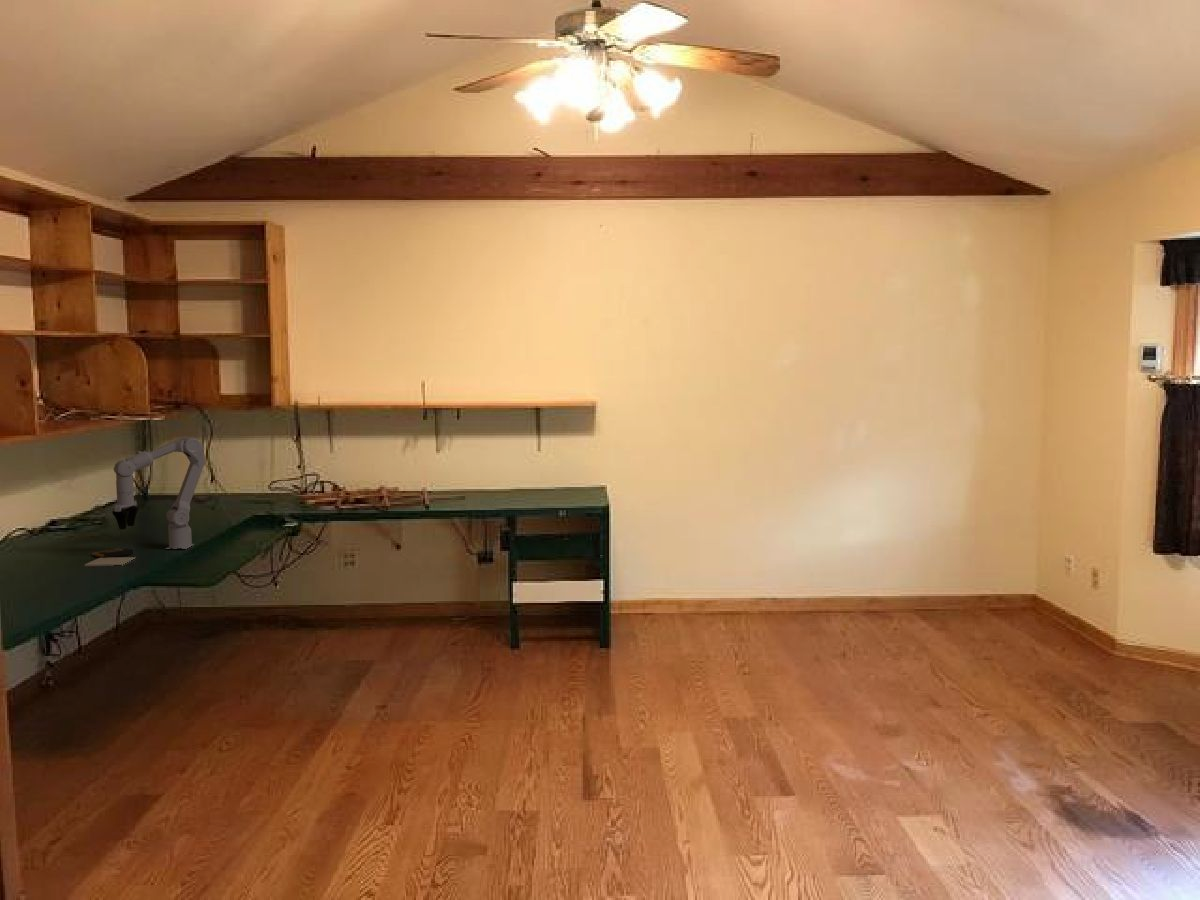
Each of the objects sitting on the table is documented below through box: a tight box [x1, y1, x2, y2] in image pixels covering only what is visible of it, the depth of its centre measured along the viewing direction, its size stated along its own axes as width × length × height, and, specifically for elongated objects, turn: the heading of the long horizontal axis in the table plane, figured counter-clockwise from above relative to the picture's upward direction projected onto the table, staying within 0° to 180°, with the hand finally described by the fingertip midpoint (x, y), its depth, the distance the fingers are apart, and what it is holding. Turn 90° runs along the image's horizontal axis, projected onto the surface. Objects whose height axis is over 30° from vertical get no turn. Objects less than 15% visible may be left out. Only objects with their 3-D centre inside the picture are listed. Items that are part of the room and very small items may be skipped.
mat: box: [84, 556, 137, 567], centre depth 350 cm, size 12×13×1 cm
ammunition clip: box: [91, 548, 134, 558], centre depth 363 cm, size 11×2×12 cm
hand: (126, 527), depth 364 cm, fingers open, 6 cm apart
